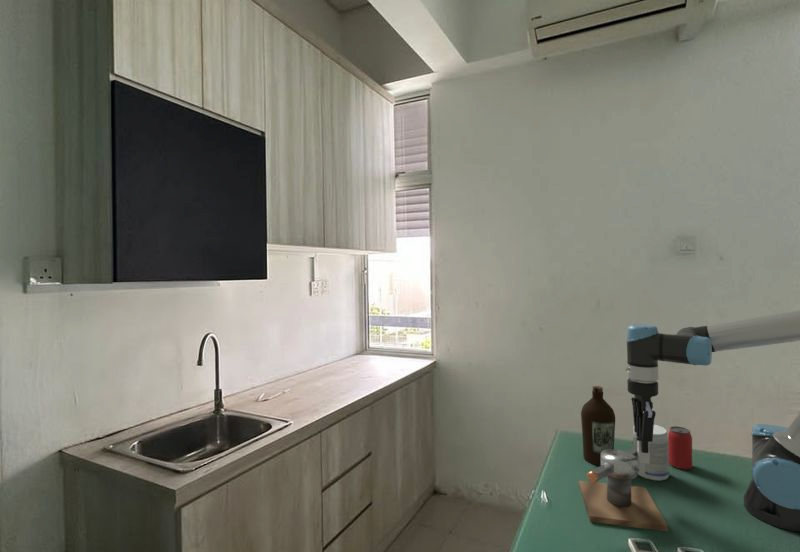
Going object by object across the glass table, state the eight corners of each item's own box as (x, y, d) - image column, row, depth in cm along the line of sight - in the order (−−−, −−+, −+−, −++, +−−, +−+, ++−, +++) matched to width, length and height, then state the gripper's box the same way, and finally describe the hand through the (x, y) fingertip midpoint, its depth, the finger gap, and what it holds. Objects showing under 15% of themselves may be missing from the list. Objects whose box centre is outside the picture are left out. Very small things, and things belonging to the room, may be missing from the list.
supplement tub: (674, 475, 130) (674, 429, 129) (659, 485, 125) (659, 437, 124) (642, 463, 138) (642, 420, 138) (627, 472, 133) (627, 427, 132)
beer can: (665, 465, 137) (665, 429, 136) (671, 458, 141) (671, 424, 141) (689, 472, 132) (689, 435, 131) (694, 465, 136) (694, 429, 136)
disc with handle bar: (625, 452, 125) (624, 439, 125) (657, 463, 118) (657, 449, 118) (573, 480, 110) (573, 466, 110) (607, 496, 102) (607, 480, 102)
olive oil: (576, 452, 147) (575, 382, 147) (607, 452, 147) (606, 382, 146) (588, 466, 137) (588, 392, 136) (621, 466, 136) (621, 391, 135)
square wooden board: (645, 492, 121) (644, 459, 121) (667, 531, 104) (667, 493, 103) (578, 485, 126) (578, 454, 125) (590, 521, 108) (589, 485, 108)
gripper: (621, 373, 124) (622, 451, 125) (634, 385, 112) (635, 471, 112) (649, 374, 122) (650, 453, 123) (666, 386, 110) (667, 474, 110)
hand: (643, 462), depth 117 cm, fingers closed
